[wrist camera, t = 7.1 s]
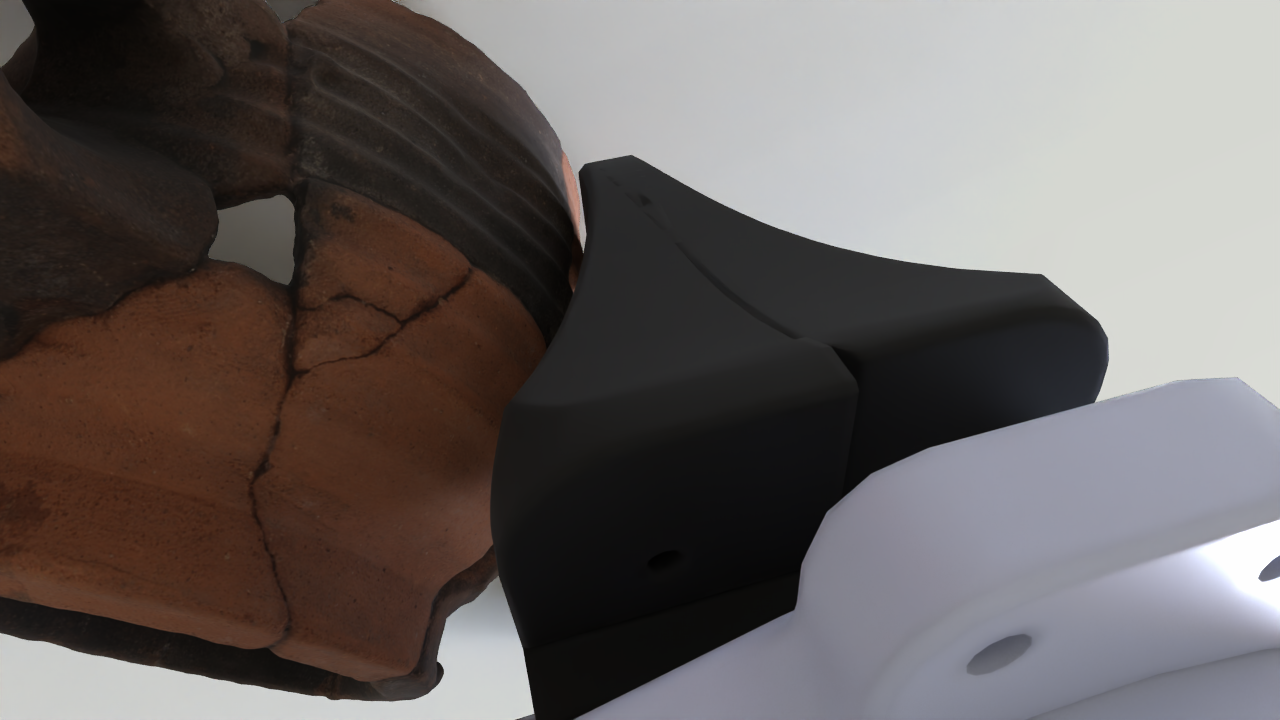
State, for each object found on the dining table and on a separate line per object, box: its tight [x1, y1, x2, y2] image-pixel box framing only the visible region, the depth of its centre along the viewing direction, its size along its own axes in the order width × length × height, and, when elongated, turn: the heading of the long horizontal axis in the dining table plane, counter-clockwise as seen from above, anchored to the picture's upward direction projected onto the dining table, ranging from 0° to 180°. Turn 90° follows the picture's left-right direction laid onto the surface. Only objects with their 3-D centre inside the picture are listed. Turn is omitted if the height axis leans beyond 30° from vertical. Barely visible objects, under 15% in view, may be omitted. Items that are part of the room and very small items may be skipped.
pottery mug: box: [0, 0, 583, 701], centre depth 10 cm, size 12×10×8 cm
